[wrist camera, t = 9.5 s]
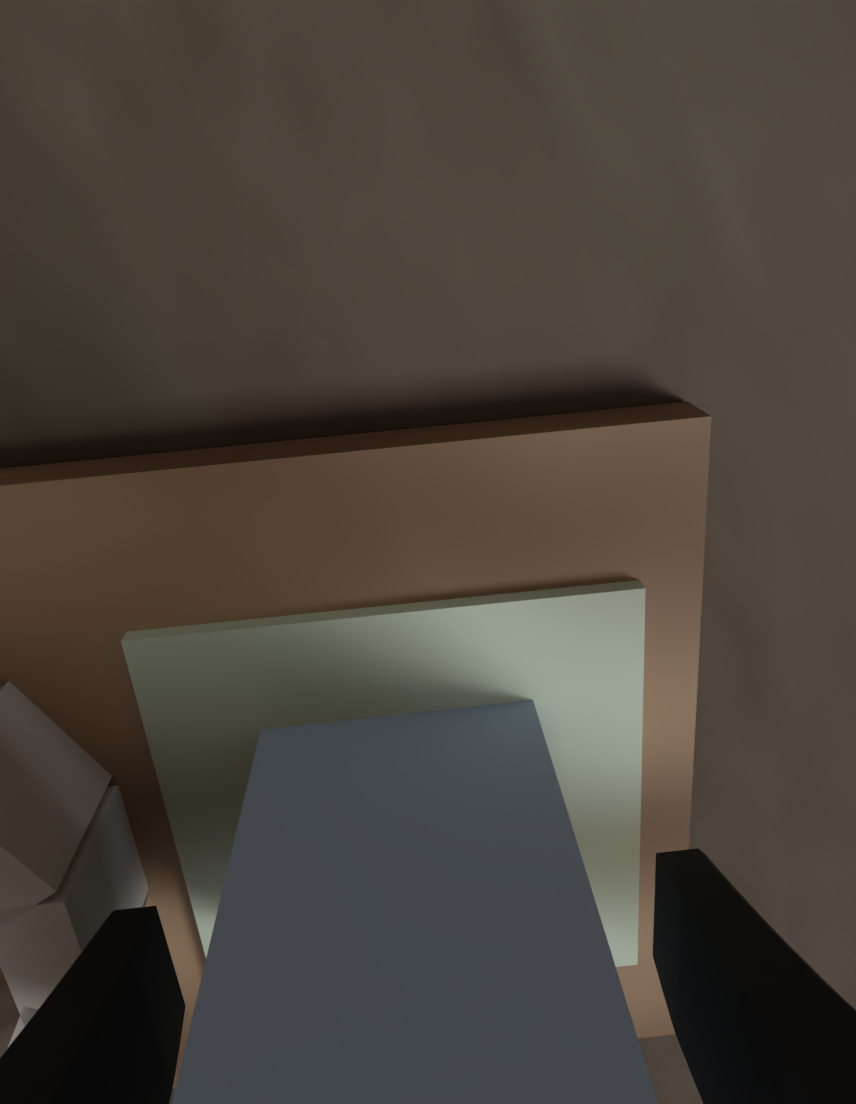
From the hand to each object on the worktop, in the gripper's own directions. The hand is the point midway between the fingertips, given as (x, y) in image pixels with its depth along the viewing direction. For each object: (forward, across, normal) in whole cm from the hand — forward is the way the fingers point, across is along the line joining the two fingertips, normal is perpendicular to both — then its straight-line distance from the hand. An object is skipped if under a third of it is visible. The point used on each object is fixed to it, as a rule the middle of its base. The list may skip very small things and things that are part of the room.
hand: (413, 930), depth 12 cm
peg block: (+2, 0, 0) cm, 2 cm away
